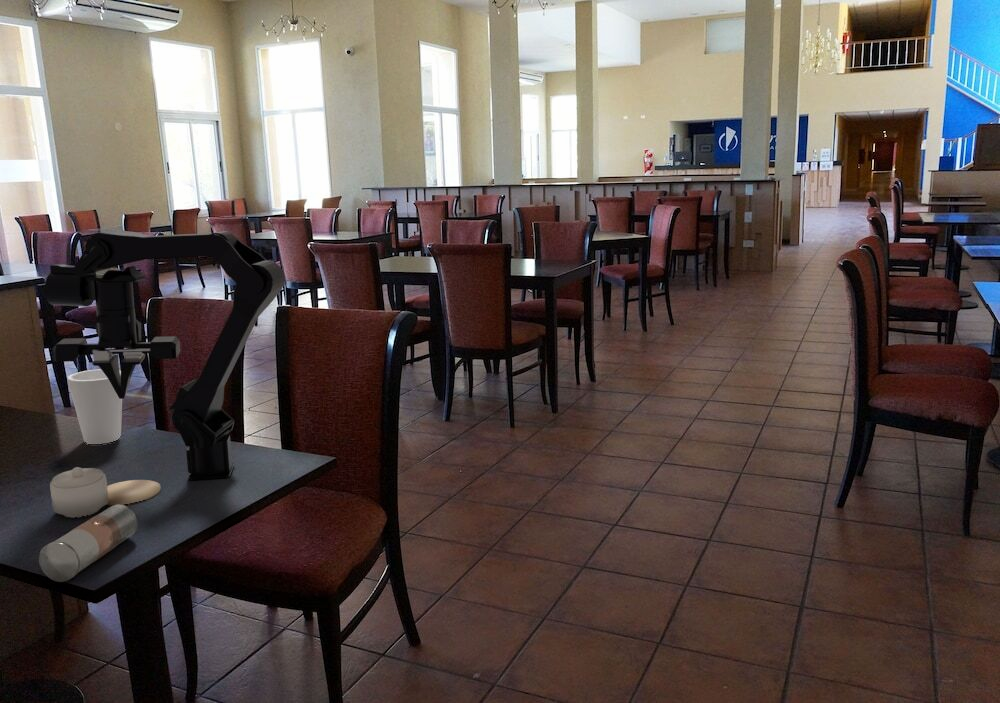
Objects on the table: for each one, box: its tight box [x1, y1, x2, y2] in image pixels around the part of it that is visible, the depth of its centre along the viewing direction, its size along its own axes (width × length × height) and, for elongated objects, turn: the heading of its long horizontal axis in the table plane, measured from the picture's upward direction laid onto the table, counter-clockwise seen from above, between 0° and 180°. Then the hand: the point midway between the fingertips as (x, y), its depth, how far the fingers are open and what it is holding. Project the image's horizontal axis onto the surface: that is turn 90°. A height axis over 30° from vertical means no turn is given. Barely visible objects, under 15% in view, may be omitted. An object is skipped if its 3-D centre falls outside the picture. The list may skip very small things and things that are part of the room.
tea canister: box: [38, 504, 138, 583], centre depth 107 cm, size 5×5×13 cm
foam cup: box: [67, 368, 123, 445], centre depth 154 cm, size 10×9×13 cm
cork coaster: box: [105, 479, 162, 507], centre depth 129 cm, size 10×10×1 cm
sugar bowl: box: [49, 466, 109, 519], centre depth 122 cm, size 8×8×7 cm
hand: (122, 398), depth 136 cm, fingers closed
